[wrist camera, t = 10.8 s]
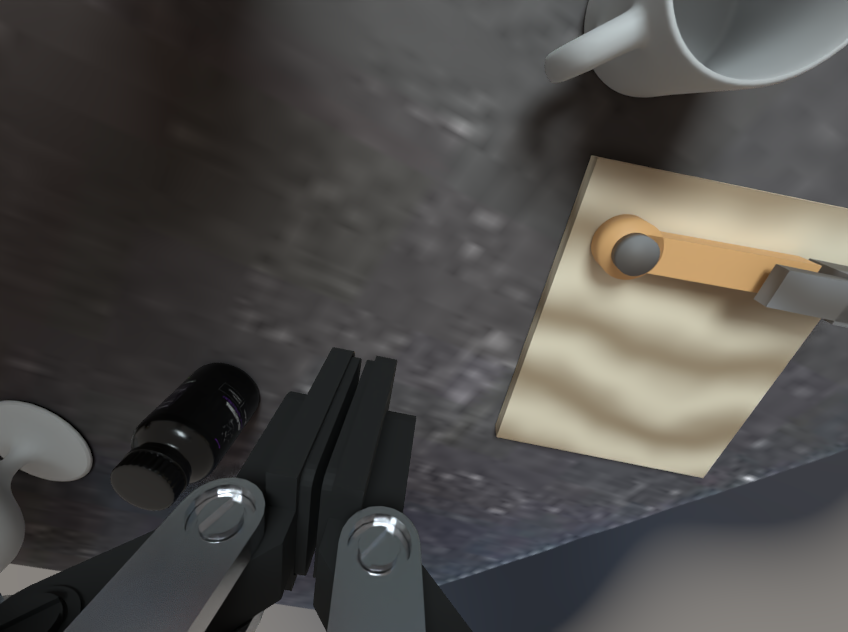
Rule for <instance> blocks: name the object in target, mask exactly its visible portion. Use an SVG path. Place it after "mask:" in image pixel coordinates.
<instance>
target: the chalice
mask: <svg viewBox="0 0 848 632" xmlns="http://www.w3.org/2000/svg"><path fill="white" fill-rule="evenodd" d="M0 456H2V457H3V458H4V459H3V460H1V461H0V572H2V571H3V569H5V568H6V567H7V565H8V564H10V562H11V561H12V560H13V559H14V558H15V557H16V556H17V554H18V552H19V550H20V548H21V546H22V543H23V541H24V535H25V522H24V518H23V515H22V512H21V509H20V507H19V506H18V504H17V502H16V500H15V498H14V497H13V495H12V492H11V481H12V478H13V476H14V475H15V473H16V472H17V471H18V470H19V469H20V470H22V471H24V472H27V473H29V474H31V475H34V476H36V477H39V478H42V479H47V480H51V481H73V480H77V479H80V478H82V477H84V476H85V475H86V474H88V473H89V471H90V469H91V467H92V461H93V458H92V454H91V450H90V449H89V447H88V445H87V443H86V441H85V440H84V439H83V437H82V436H81V435H80V434H79V432H78V431H77V430H75V429H74V428H73V427H72V426H71V425H70V424H69V423H68V422H66V421H65V420H63V419H62V418H60V417H59V416H57V415H56V414H54V413H52V412H50V411H48V410H46V409H44V408H42V407H39V406H36V405H34V404H31V403H26V402H22V401H13V400H4V401H0Z"/></svg>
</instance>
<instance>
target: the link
mask: <svg viewBox="0 0 848 632" xmlns="http://www.w3.org/2000/svg"><path fill="white" fill-rule="evenodd" d="M630 233H642V234H645V235H647V236H648V237H650V238H651V239H653V240H654V241H655V242H656V243H657V244H658V246H659V248H660V257H659V260H658V262H657V264H656V265H655V266H654V267H653V268H652V269H651V270H650V271H649V272H647V273H648V274H654V275H660V276H665V277H671V278H676V279H682V280H688V281H693V282H699V283H704V284H710V285H715V286H721V287H727V288H732V289H738V290H743V291H749V292H755V293H758V291H759V290H760V288H761V287H762V285H763V284H764V282H765V280H766V279H767V277H768V276H769V274H770V273H771V271H772V269H773V268H774V266H775V265H776V264H779V265H784V266H789V267H794V268H799V269H803V270H808V271H813V272H818V271H819V270H820V268H821V267H822V266H821V265H819V264H816V263H814V262H812V261H809V260H807V259H805V258H802V257H800V256H796V255H791V254H785V253H779V252H774V251H768V250H763V249H757V248H751V247H746V246H740V245H735V244H729V243H724V242H718V241H712V240H707V239H701V238H696V237H690V236H684V235H679V234H673V233H668V232H662V231H659V230H658V229H657V228H656V227H655V226H653V225H652V224H650V223H648V222H647V221H645V220H643V219H642V218H640V217H638V216H636V215H631V214H622V215H617V216H614V217H612V218H610V219H608V220H607V221H605V222H604V223H603V224H602V225H601V226H600V227H599V228H598V229H597V231H596V232H595V234H594V236H593V239H592V243H591V251H592V255H593V257H594V259H595V260H596V262H597V263H598V264H599V265H600V266H601V267H602V268H603V269H604V271H605V272H606V273H607V274H609V275H610V276H612V277H614V278H617V279H621V280H630V279H635V278H638V277H641V276H643V275H645V274H646V273H645V274H643V275H639V276H629V275H626V274H624V273H622V272H621V271H620V270H619V269H618V268H617V267H616V266H615V265H614V263H613V261H612V258H611V253H612V249H613V247H614V245H615V243H616V242H617V241H618V240H619V239H620V238H622V237H623V236H625V235H627V234H630Z"/></svg>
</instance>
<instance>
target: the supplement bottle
mask: <svg viewBox="0 0 848 632" xmlns="http://www.w3.org/2000/svg"><path fill="white" fill-rule="evenodd" d="M258 404H259V392H258V389H257V386H256V384H255V383H254V381H253V380H252V379H251V377H250V376H249V375H247V374H246V373H245V372H244V371H242V370H241V369H239V368H237V367H235V366H232V365H229V364H225V363H210V364H207V365H204V366H202V367H200V368H199V369H197V370H196V371H195V372H194V373H193V374H192V375H191V376H190V377H189V378H187V379H186V380H185V381H184V382H183V383H182V384H181V385H180V386H179V387H178V388H177V389H176V390H175V391H174V392H173V393H172V394H171V395H170V396H168V397H167V398H166V399H165V400H164V401H163V402H162V403H161V404H160V405H159V406H158V407H157V408H156V409H155V410H154V411H153V412H152V413H151V414H149V415H148V416H147V417H146V418H145V419H144V420H143V421H142V422H141V423H140V424H139V425H138V427H137V428H136V429H135V431H134V433H133V436H132V440H131V449H132V450H131V451H130V452H129V453H128V454H127V455H126V456H125V457H124V459H123V460H122V461H121V462H120V463H119V464H118V465H117V466H116V467H115V468H114V469H113V471H112V473H111V478H110V480H111V484H112V486H113V488H114V489H115V492H116V493H118V495H119V496H120V497H122V498H123V499H124V500H125V501H127V502H129V503H130V504H132V505H134V506H136V507H139V508H142V509H146V510H153V511H155V510H164V509H165V508H169V507H170V506H171V505H172V504H173V503H174V502H175V501H176V499H177V498H178V497H179V495H180V494H181V493H182V492H183V491H184V490H185V489H186V487H187V486H188V484H193V483H196V482H199V481H201V480H203V479H205V478H206V477H207V476H209V475H210V474H211V473H212V472H213V470H214V469H215V468H216V466H217V465H218V464H219V462H220V461H221V459H222V458H223V457H224V455H225V454H226V452H227V451H228V449H229V448H230V447H231V445H232V444H233V442H234V441H235V440H236V438H237V437H238V435H239V434H240V432H241V431H242V430H243V428H244V427H245V425H246V424H247V423H248V421H249V420H250V418H251V417H252V415H253V414H254V412H255V411H256V409H257V407H258Z"/></svg>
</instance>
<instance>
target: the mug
mask: <svg viewBox="0 0 848 632" xmlns="http://www.w3.org/2000/svg"><path fill="white" fill-rule="evenodd" d="M847 44H848V0H589V2H588V5H587V10H586V15H585V23H584V34H583V35H581V36H580V37H578V38H576V39H574V40H572V41H570V42H569V43H567V44H565V45H563V46H561V47H560V48H558V49H556V50H555V51H553V52H551V53H550V54H549V55H548V56H547V58H546V60H545V65H544V67H545V73H546V75H547V78H548V79H549V80H550V82H553V83H559V82H563V81H566V80H569V79H571V78H574V77H576V76H578V75H581V74H583V73H585V72H587V71H590V70H592V69H593V70H594V71H595V73H596V74H597V76H598V77H599V78H600V79H601V80H602V81H603V83H605V84H606V85H607V86H608V87H610V88H611V89H613V90H614V91H616V92H618V93H621V94H624V95H627V96H632V97H644V98H647V97H657V96H665V95H675V94H688V93H702V92H716V91H730V90H742V89H752V88H760V87H764V86H769V85H773V84H777V83H780V82H783V81H786V80H788V79H791V78H794V77H796V76H798V75H800V74H802V73H804V72H807V71H809V70H811V69H812V68H814V67H816V66H817V65H819V64H821V63H822V62H824V61H825V60H827V59H829V58H830V57H831V56H833V55H834V54H835V53H837V52H838V51H839V50H841V49H842V48H843V47H845V46H846V45H847Z"/></svg>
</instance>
